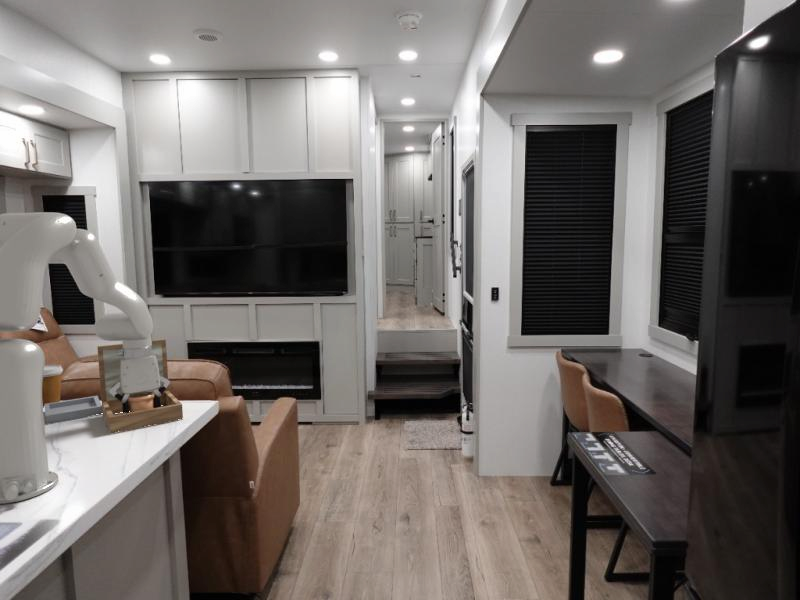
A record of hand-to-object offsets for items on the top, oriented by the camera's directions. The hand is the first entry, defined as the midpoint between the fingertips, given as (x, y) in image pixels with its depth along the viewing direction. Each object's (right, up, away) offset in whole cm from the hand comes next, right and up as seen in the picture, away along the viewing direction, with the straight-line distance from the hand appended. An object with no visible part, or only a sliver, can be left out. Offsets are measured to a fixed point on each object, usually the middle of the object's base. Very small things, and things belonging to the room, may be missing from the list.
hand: (142, 411), depth 147 cm
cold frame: (0, -2, 0) cm, 2 cm away
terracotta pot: (0, -2, 0) cm, 2 cm away
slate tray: (-24, -2, +5) cm, 24 cm away
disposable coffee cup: (-38, -1, +14) cm, 40 cm away
